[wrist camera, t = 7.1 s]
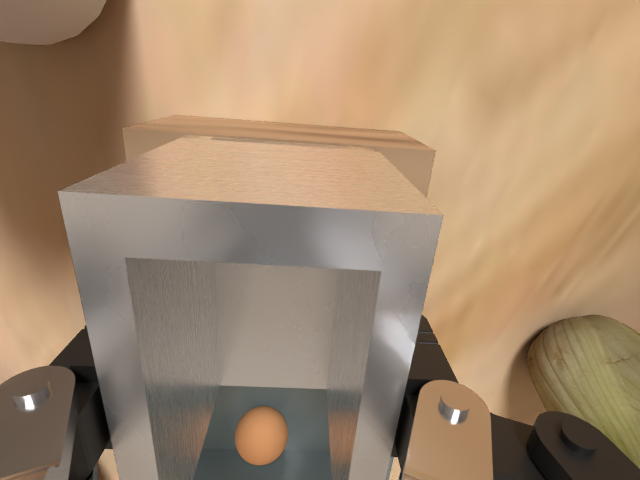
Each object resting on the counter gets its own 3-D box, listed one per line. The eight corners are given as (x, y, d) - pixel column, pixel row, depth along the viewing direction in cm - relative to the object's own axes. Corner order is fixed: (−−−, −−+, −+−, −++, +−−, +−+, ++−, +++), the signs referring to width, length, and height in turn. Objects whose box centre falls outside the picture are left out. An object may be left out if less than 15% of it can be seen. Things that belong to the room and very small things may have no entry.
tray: (160, 291, 19) (131, 332, 16) (401, 302, 20) (418, 344, 17) (177, 447, 24) (157, 503, 21) (372, 452, 25) (382, 507, 22)
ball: (244, 487, 19) (236, 451, 22) (298, 465, 20) (284, 434, 23) (234, 435, 19) (227, 406, 22) (289, 415, 20) (276, 389, 23)
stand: (175, 115, 16) (121, 128, 11) (400, 131, 17) (435, 150, 12) (188, 292, 20) (152, 356, 15) (374, 301, 20) (393, 365, 16)
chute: (186, 134, 11) (57, 191, 5) (376, 148, 11) (443, 214, 6) (203, 372, 14) (136, 556, 9) (345, 378, 15) (368, 558, 9)
